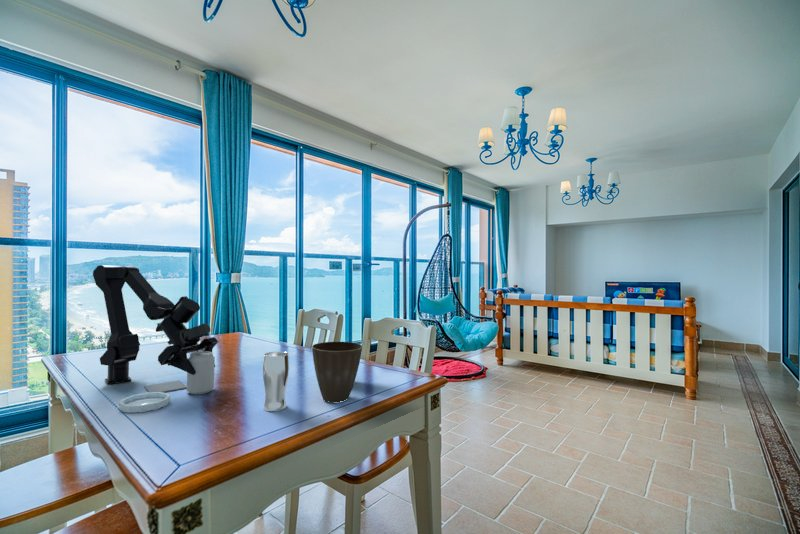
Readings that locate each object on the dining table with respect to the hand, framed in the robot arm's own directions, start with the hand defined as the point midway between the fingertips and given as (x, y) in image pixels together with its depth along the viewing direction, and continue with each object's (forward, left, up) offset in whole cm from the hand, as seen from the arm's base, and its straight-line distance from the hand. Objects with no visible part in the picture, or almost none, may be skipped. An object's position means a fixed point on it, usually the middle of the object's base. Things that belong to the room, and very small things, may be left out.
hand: (204, 370), depth 117 cm
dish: (+2, -16, -7) cm, 17 cm away
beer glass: (+27, +10, -7) cm, 30 cm away
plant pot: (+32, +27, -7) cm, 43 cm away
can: (-1, -1, -7) cm, 7 cm away
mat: (-12, -8, -7) cm, 16 cm away
